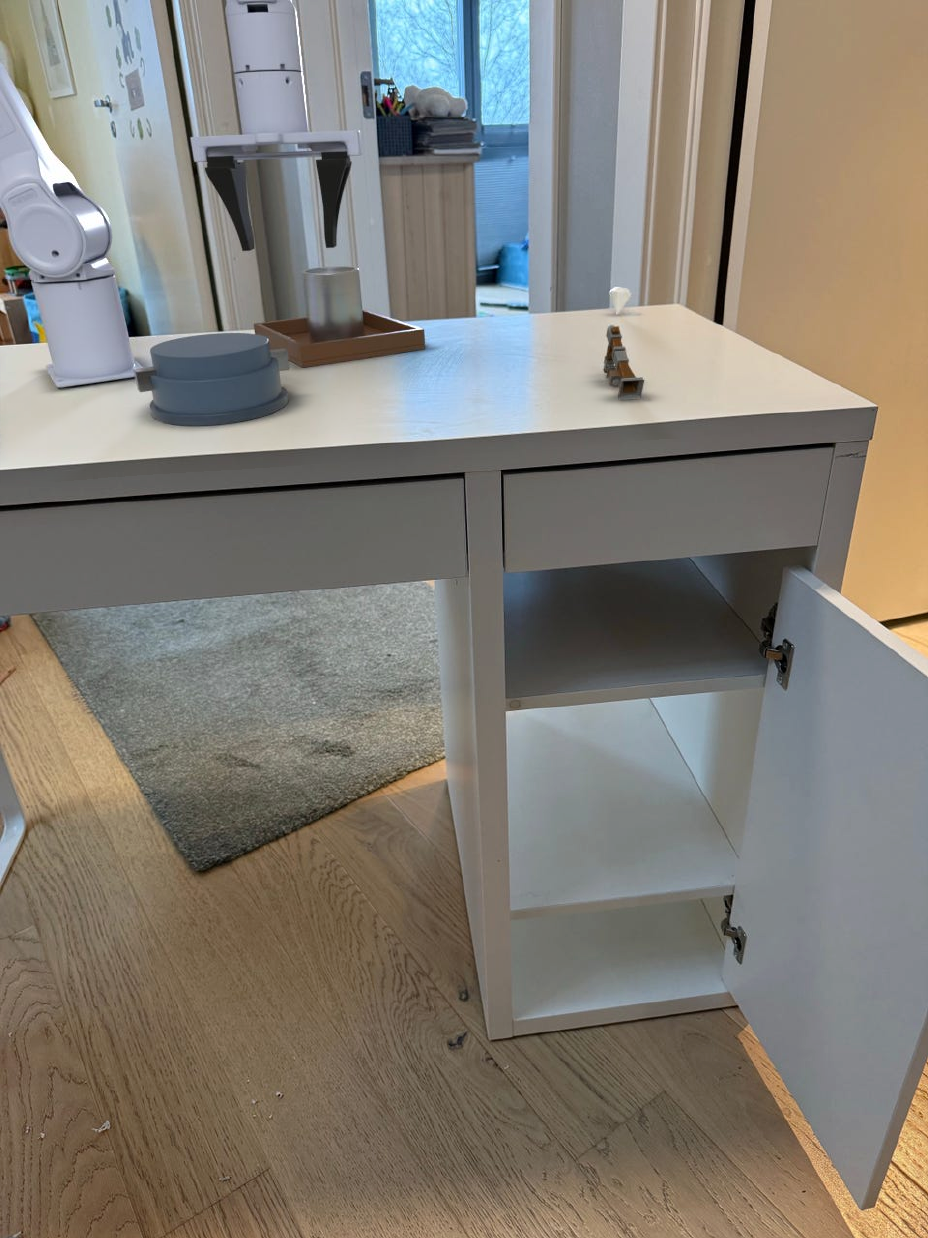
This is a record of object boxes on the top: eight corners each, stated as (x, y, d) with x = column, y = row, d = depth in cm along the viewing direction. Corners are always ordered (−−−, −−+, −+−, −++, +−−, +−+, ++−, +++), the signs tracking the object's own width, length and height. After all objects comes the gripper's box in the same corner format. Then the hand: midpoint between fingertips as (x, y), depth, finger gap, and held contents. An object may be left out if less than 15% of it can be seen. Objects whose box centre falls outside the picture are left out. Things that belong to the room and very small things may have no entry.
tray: (256, 342, 94) (253, 323, 93) (367, 327, 99) (365, 309, 98) (302, 367, 82) (299, 346, 81) (425, 349, 88) (424, 328, 87)
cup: (302, 339, 92) (293, 269, 88) (352, 333, 94) (345, 264, 90) (321, 349, 87) (312, 275, 84) (373, 341, 89) (367, 269, 86)
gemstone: (609, 314, 102) (615, 288, 101) (631, 318, 101) (637, 291, 100) (601, 311, 100) (607, 284, 99) (623, 314, 98) (629, 287, 98)
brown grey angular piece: (615, 362, 75) (623, 317, 71) (635, 423, 70) (645, 377, 66) (594, 364, 75) (601, 318, 71) (613, 424, 70) (622, 378, 66)
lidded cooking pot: (132, 404, 72) (118, 343, 70) (271, 382, 77) (263, 324, 75) (159, 435, 64) (144, 367, 62) (313, 409, 69) (306, 345, 66)
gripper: (168, 73, 69) (199, 255, 76) (347, 66, 69) (363, 249, 75) (193, 79, 75) (220, 247, 82) (358, 72, 75) (371, 241, 81)
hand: (289, 248), depth 79 cm, fingers open, 7 cm apart
